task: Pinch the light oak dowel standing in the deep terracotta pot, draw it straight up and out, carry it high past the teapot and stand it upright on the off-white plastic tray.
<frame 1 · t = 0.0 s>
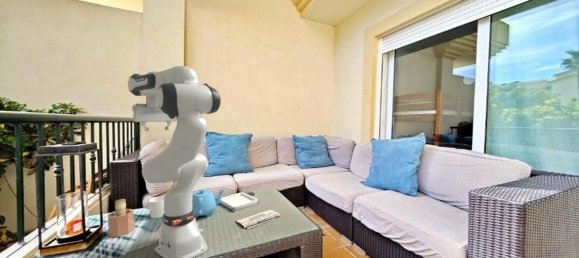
hand: (156, 130, 118), 48 cm above the table, tool pointing down, fingers open, 8 cm apart
teapot: (203, 214, 128), on the table
pot: (121, 233, 106), on the table
white cup: (157, 217, 124), on the table
dowel: (121, 231, 106), point 1 cm above the table, touching pot
tray: (238, 202, 144), on the table
newspaper: (259, 220, 121), on the table
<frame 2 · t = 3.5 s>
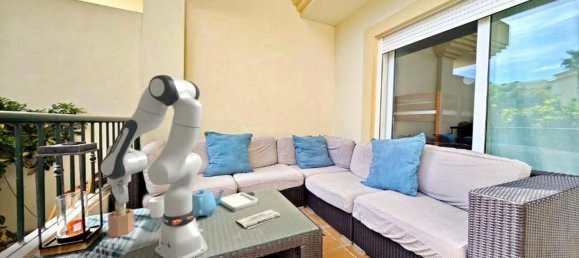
hand: (120, 207, 106), 13 cm above the table, tool pointing down, fingers closed on dowel, 4 cm apart
dowel: (121, 231, 106), point 1 cm above the table, touching gripper, pot
everything else where it was.
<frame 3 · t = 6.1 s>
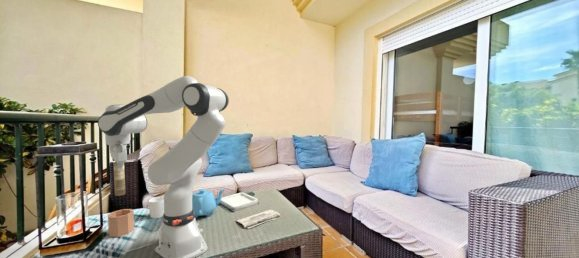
hand: (119, 169, 105), 31 cm above the table, tool pointing down, fingers closed on dowel, 4 cm apart
dowel: (120, 194, 105), point 19 cm above the table, touching gripper
everything else where it was.
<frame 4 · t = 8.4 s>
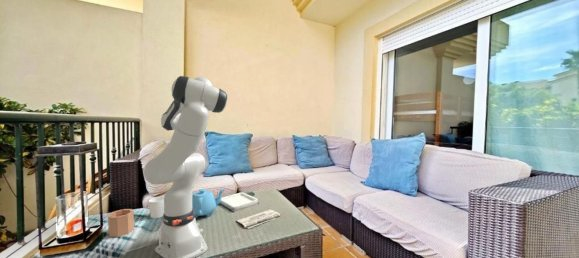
hand: (185, 157, 135), 31 cm above the table, tool pointing down, fingers closed on dowel, 4 cm apart
dowel: (185, 176, 135), point 19 cm above the table, touching gripper
everything else where it was.
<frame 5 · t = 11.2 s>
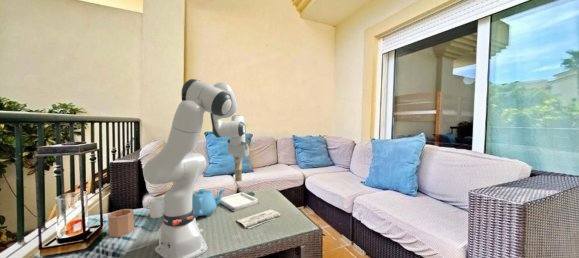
hand: (238, 162, 143), 26 cm above the table, tool pointing down, fingers closed on dowel, 4 cm apart
dowel: (238, 180, 143), point 15 cm above the table, touching gripper
everything else where it was.
when the fingers open (14 cm above the table, at t = 13.6 s): dowel drops 1 cm, resting on tray.
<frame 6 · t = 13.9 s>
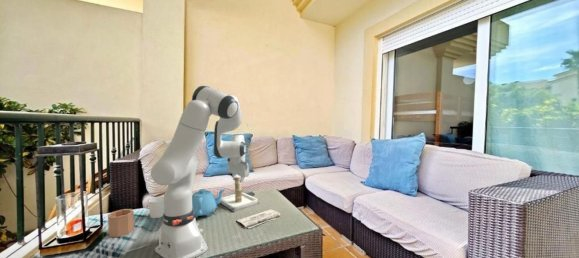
hand: (238, 181, 143), 14 cm above the table, tool pointing down, fingers open, 7 cm apart
dowel: (238, 201, 144), point 1 cm above the table, touching tray
everything else where it was.
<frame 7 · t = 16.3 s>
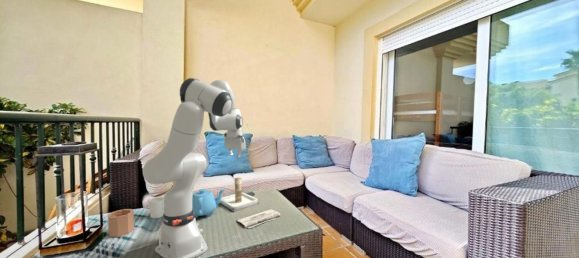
hand: (235, 156, 143), 30 cm above the table, tool pointing down, fingers open, 8 cm apart
nothing on the table moved.
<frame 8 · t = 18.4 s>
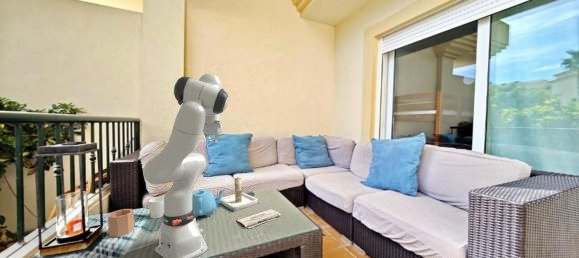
hand: (212, 142, 143), 39 cm above the table, tool pointing down, fingers open, 8 cm apart
nothing on the table moved.
at the end: dowel inside the target area on the tray (0.1 cm from its centre), point 1.0 cm above the tray's base; dowel tilted 0°; the gripper is holding nothing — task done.
